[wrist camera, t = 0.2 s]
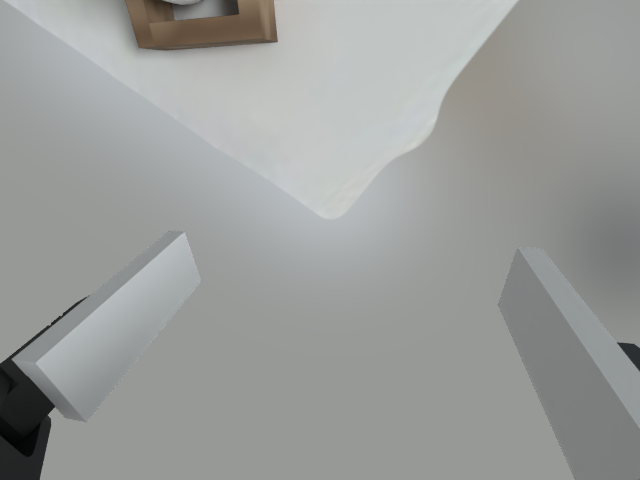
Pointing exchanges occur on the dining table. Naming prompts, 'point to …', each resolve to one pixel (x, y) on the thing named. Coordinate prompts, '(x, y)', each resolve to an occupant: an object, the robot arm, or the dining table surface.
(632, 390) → the robot arm
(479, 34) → the dining table surface
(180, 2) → the sauce bottle
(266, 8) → the socket block
